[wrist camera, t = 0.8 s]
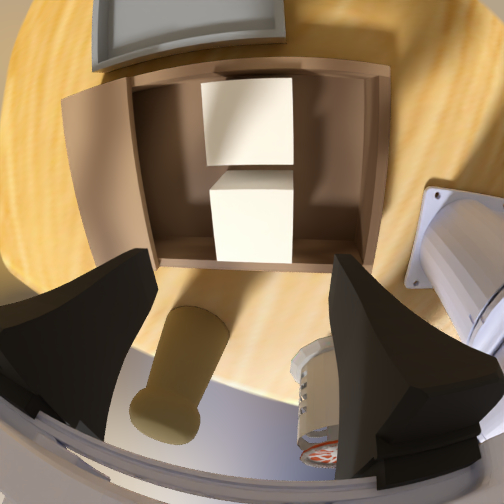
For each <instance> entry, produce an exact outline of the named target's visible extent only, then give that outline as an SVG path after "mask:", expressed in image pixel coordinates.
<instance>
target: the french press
mask: <svg viewBox="0 0 504 504" xmlns="http://www.w3.org/2000/svg"><path fill="white" fill-rule="evenodd" d="M290 373H291V374H292V376H293V378H294V380H295V381H296V382H297V383H298V384H300V390H301V392H300V391H299V397H300V398H299V413H300V414H301V415H299V414H298V420H299V422H298V434H297V445H298V446H299V447H300V449H301V450H304V451H303V453H302V454H301V457H300V460H301V461H302V462H303V463H305V464H306V465H309V466H313V467H322V468H323V467H325V468H326V467H328V468H329V467H332V468H333V467H335V468H336V462H337V451H338V435H339V377H338V368H337V362H336V356H335V349H334V343H333V338H332V336H330V337H326V338H321V339H318V340H316V341H314V342H312V343H311V344H309V345H307V346H305V347H303V348H302V349H300V351H299V352H298V353H297V354H296V355H295V357H294V358H293V359H292V360H291V368H290ZM301 396H303V399H304V400H303V401H302V398H301ZM300 401H301V402H300ZM301 408H303V410H305V411H306V412H305V413H302V410H301ZM326 426H327V429H326V430H323V431H320V432H317V431H313V430H316V429H319V428H322V427H326ZM305 434H306V435H307V436H308V437H323V436H328V437H327V441H325V442H322V443H308V442H307V441H306V440H304V439H303V438H302V436H303V435H305Z"/></svg>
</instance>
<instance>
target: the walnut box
mask: <svg viewBox="0 0 504 504" xmlns="http://www.w3.org/2000/svg"><path fill="white" fill-rule="evenodd" d="M261 78H292V97H293V165H218V166H207V159H206V147H205V135H204V121H203V107H202V92H201V83H208V82H217V81H228V80H241V79H261ZM61 107H62V117H63V126H64V134H65V141H66V148H67V154H68V160H69V165H70V170H71V175H72V180H73V185H74V190H75V194H76V198H77V202H78V207H79V210H80V214H81V218H82V222H83V225H84V229H85V232H86V236H87V239H88V243H89V246H90V249H91V252H92V255H93V258H94V261H95V264H96V267H98V266H100V265H102V264H104V263H106V262H107V261H109V260H111V259H113V258H115V257H117V256H118V255H120V254H122V253H124V252H126V251H129V250H131V249H134V248H148V251H149V256H150V260H151V264H152V268H153V270H154V271H157V269H158V268H159V266H162V267H181V268H202V269H224V270H248V271H276V272H307V273H332V269H333V261H334V254H351V255H352V256H353V257H354V258H355V259H356V260H357V261H358V262H359V263H360V264H361V265H362V266H363V267H364V268H365V269H366V270H367V271H368V272H369V273H370V274H371V273H372V268H373V263H374V258H375V253H376V247H377V242H378V236H379V230H380V224H381V217H382V210H383V203H384V195H385V187H386V177H387V167H388V155H389V140H390V117H391V73H390V66H387V65H381V64H375V63H368V62H361V61H352V60H343V59H331V58H315V57H257V58H241V59H229V60H219V61H211V62H203V63H196V64H190V65H184V66H178V67H173V68H168V69H163V70H158V71H154V72H149V73H145V74H141V75H137V76H133V77H124V78H120V79H117V80H114V81H111V82H107V83H104V84H101V85H98V86H95V87H92V88H90V89H87V90H84V91H81V92H79V93H76V94H73V95H71V96H68V97H66V98H64V99H61ZM228 170H293V237H292V264H290V263H259V262H231V261H217V256H216V247H215V239H214V230H213V221H212V211H211V202H210V191H209V190H210V189H211V188H212V186H213V185H214V184H215V183H216V182H217V181H218V180H219V179H220V178H221V176H222V175H223V174H224V173H225V172H226V171H228Z"/></svg>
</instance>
